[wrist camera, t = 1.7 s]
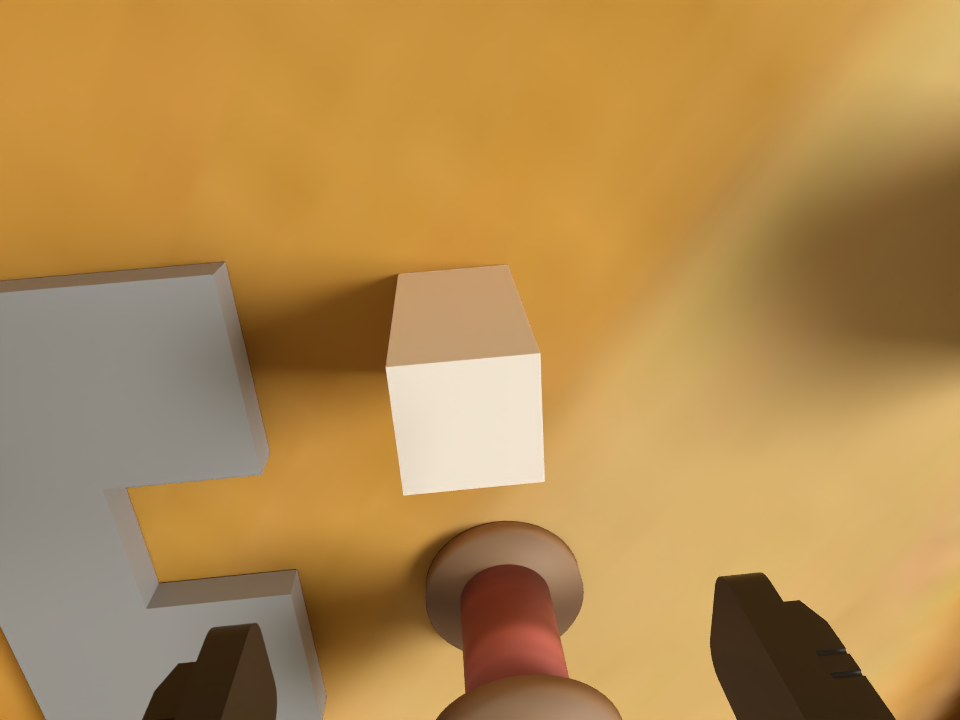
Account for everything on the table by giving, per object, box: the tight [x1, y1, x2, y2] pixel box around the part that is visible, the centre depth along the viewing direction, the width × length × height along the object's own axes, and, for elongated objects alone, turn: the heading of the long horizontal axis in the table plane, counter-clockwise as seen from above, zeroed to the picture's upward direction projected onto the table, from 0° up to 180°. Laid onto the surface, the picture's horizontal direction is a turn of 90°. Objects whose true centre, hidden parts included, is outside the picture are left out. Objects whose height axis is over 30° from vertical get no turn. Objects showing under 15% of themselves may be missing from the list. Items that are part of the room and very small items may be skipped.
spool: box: [426, 521, 622, 720], centre depth 27 cm, size 7×7×9 cm
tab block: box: [386, 264, 545, 495], centre depth 22 cm, size 4×4×8 cm
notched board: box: [0, 262, 327, 720], centre depth 28 cm, size 22×12×2 cm, turn 4°
